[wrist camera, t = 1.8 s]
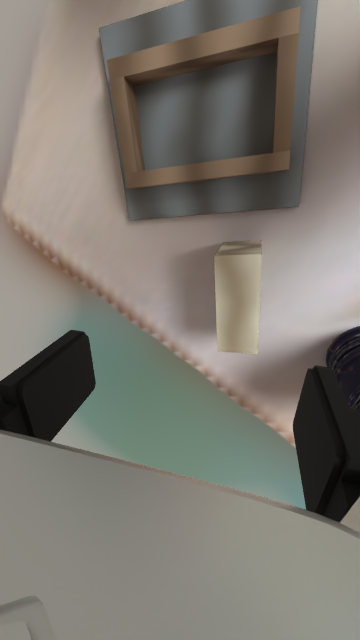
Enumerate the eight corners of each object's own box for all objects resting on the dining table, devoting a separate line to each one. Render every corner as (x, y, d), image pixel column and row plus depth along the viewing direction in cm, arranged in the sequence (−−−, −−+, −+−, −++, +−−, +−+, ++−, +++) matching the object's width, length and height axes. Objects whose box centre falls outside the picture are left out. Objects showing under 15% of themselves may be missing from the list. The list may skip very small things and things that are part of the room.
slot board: (319, -34, 21) (328, -71, 18) (298, 205, 29) (302, 207, 26) (103, 33, 27) (84, 13, 24) (132, 219, 34) (120, 222, 31)
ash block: (261, 240, 32) (261, 254, 25) (258, 322, 36) (257, 353, 29) (223, 242, 33) (213, 255, 26) (225, 321, 37) (217, 351, 30)
